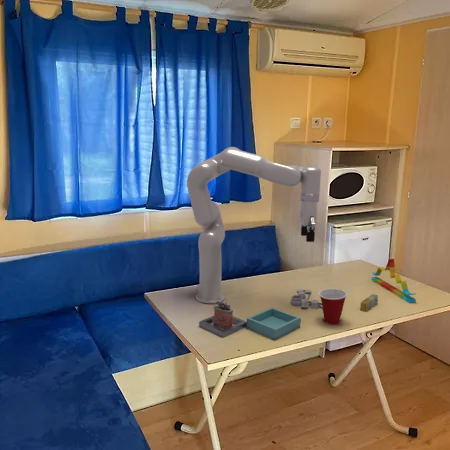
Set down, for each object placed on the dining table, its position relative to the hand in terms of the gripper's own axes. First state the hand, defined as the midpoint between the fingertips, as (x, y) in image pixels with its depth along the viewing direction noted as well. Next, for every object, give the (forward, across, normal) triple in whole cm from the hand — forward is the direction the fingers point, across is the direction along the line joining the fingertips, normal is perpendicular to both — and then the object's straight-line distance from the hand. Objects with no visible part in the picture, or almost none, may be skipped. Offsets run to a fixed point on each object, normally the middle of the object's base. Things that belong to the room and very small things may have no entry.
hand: (307, 238), depth 197 cm
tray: (+30, +21, -16) cm, 40 cm away
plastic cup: (+30, +16, +7) cm, 35 cm away
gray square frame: (+30, +20, -35) cm, 50 cm away
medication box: (+30, +3, +27) cm, 40 cm away
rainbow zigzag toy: (+30, -16, +45) cm, 56 cm away
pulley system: (+30, -3, +2) cm, 30 cm away
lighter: (+30, +20, -35) cm, 50 cm away
